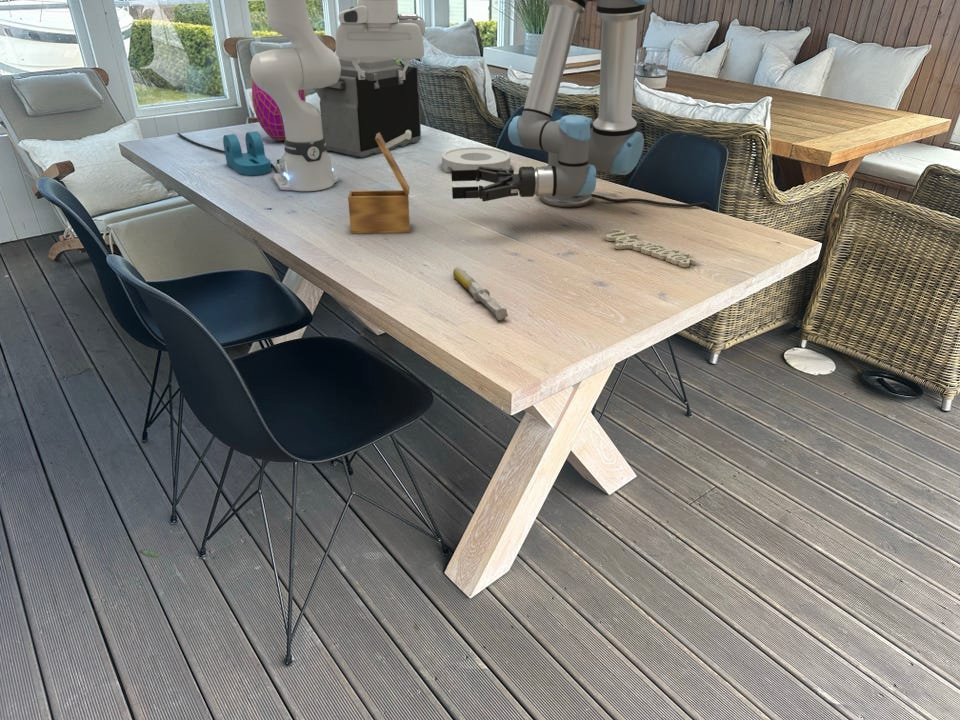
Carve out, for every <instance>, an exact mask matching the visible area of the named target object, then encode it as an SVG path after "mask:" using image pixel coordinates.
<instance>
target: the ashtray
mask: <svg viewBox="0 0 960 720" xmlns="http://www.w3.org/2000/svg"><path fill="white" fill-rule="evenodd" d="M480 166H481V167H489V168H497V169H511V154H510V153H509V152H507V151H505V150H503V149H502V150H501V149H499V148H498V149H497V148H492V147H482V146H481V147H480V146H467V147H457V148H451V149H448V150H446V151H444V152H443V153H442V154H441V169H442V170H443V171H444V172H446V173H451V170H476V169H478V167H480Z"/></svg>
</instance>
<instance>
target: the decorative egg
mask: <svg viewBox="0 0 960 720" xmlns="http://www.w3.org/2000/svg"><path fill="white" fill-rule="evenodd" d="M299 97H300V99H301V100H303V101H305V102H307V101H306V99H307V97H306V93H305V89H304V90H299ZM251 101H252V107H253V110H254V114H255V116H256V118H257V121H258V123H259V125H260V127H261V128H262V130H263V131H264V133H266V135H267V136H268V137H270V138H271V139H273V140H275V141H282V142H285V139H286V136H285V130H284V124H283V119H282V115H281V112H280V109H279V107H278V106H277V104H276V102H275V101H274V100H273V99H272V97H271V96H270V95H268V94H267V93H266V92H264V91H263V90H261V89H260V88H259V87H258V86H257V85H256V84H255V82H254V81H253V79H252V78H251Z"/></svg>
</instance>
